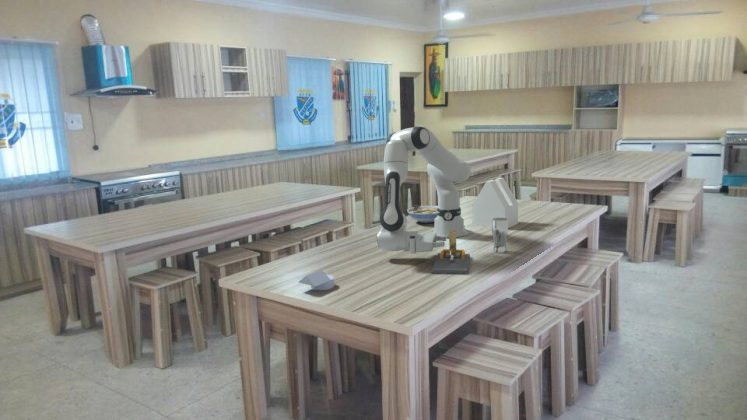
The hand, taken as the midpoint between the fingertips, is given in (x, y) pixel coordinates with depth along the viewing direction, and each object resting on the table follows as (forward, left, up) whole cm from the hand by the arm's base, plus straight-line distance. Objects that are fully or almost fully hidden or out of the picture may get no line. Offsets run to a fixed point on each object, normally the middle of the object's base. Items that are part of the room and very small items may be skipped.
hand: (445, 241), depth 236 cm
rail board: (+7, +3, -8) cm, 11 cm away
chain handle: (+3, +3, -6) cm, 8 cm away
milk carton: (-69, +21, -9) cm, 72 cm away
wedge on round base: (+40, -45, -9) cm, 61 cm away
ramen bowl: (-75, -17, -8) cm, 77 cm away
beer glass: (-15, +23, -8) cm, 29 cm away
